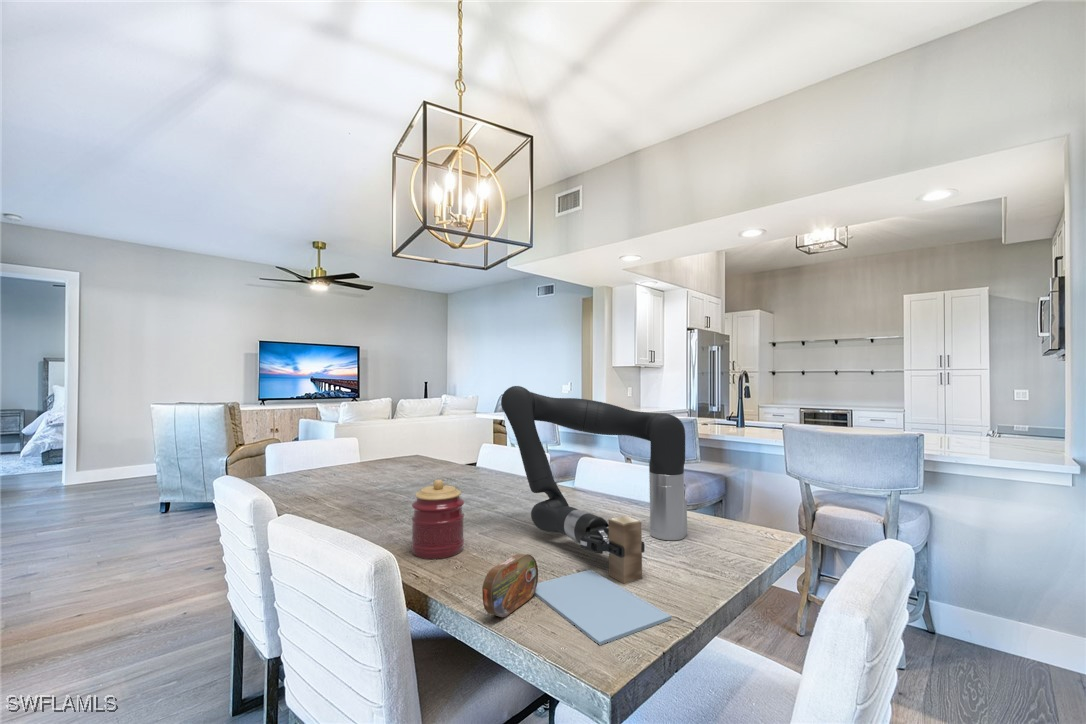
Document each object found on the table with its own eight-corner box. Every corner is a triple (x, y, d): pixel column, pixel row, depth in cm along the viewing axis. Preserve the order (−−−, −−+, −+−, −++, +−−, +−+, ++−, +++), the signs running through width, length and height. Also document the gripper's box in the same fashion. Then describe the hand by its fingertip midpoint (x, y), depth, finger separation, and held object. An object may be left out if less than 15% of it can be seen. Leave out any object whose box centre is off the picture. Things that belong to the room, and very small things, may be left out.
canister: (440, 563, 109) (440, 487, 109) (399, 553, 115) (400, 481, 116) (474, 546, 120) (474, 477, 121) (436, 538, 126) (436, 472, 127)
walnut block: (626, 570, 104) (626, 515, 105) (642, 578, 100) (641, 520, 100) (609, 575, 102) (608, 518, 102) (624, 583, 97) (623, 524, 98)
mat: (590, 572, 103) (590, 569, 103) (671, 619, 83) (671, 615, 83) (527, 588, 95) (527, 585, 95) (599, 645, 75) (599, 641, 75)
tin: (493, 625, 81) (492, 575, 81) (479, 621, 82) (478, 572, 83) (540, 592, 93) (538, 549, 94) (527, 589, 95) (525, 547, 96)
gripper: (561, 517, 110) (606, 538, 95) (609, 508, 117) (658, 526, 103) (561, 549, 110) (607, 575, 95) (609, 539, 117) (658, 561, 102)
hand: (633, 550), depth 99 cm, fingers closed on walnut block, 5 cm apart
